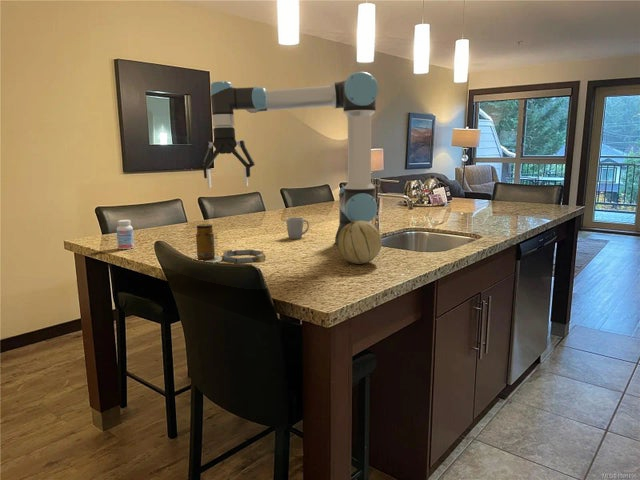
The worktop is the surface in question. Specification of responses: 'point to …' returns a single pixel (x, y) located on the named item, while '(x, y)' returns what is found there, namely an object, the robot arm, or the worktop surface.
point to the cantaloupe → (359, 242)
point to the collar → (228, 253)
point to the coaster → (217, 260)
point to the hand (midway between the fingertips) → (228, 186)
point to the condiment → (205, 243)
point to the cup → (296, 227)
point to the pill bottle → (125, 235)
